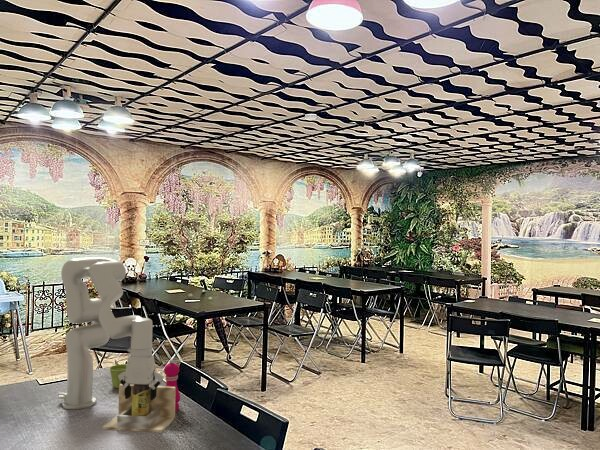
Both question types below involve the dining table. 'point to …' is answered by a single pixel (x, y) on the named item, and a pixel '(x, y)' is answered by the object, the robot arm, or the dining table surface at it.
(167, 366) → the pepper mill
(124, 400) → the condiment rack
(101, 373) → the dining table surface
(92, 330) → the robot arm
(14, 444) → the dining table surface
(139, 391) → the sauce bottle
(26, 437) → the dining table surface
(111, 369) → the plant pot
